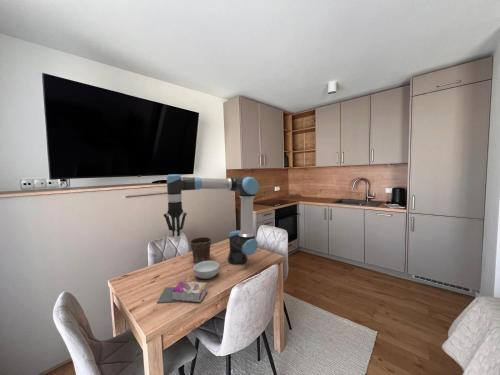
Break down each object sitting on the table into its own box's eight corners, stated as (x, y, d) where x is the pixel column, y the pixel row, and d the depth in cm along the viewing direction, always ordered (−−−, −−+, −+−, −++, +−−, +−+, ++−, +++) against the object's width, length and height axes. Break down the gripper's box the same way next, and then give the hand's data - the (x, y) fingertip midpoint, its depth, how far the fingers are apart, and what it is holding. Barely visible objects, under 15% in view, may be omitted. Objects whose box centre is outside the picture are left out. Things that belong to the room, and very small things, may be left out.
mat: (202, 285, 123) (202, 284, 123) (199, 300, 109) (199, 299, 109) (165, 288, 121) (165, 287, 121) (156, 303, 107) (156, 302, 107)
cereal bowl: (223, 271, 142) (223, 261, 141) (214, 283, 125) (213, 272, 125) (200, 269, 145) (200, 259, 145) (188, 281, 129) (188, 270, 128)
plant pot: (187, 264, 152) (186, 243, 151) (195, 256, 168) (194, 236, 167) (208, 265, 150) (207, 244, 149) (214, 256, 166) (213, 237, 165)
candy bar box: (181, 280, 120) (208, 282, 117) (181, 288, 120) (208, 290, 117) (170, 290, 109) (200, 293, 106) (171, 300, 109) (200, 303, 106)
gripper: (187, 200, 122) (189, 239, 123) (165, 200, 120) (167, 240, 122) (185, 202, 114) (186, 243, 116) (160, 202, 113) (162, 244, 115)
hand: (176, 241), depth 119 cm, fingers closed
